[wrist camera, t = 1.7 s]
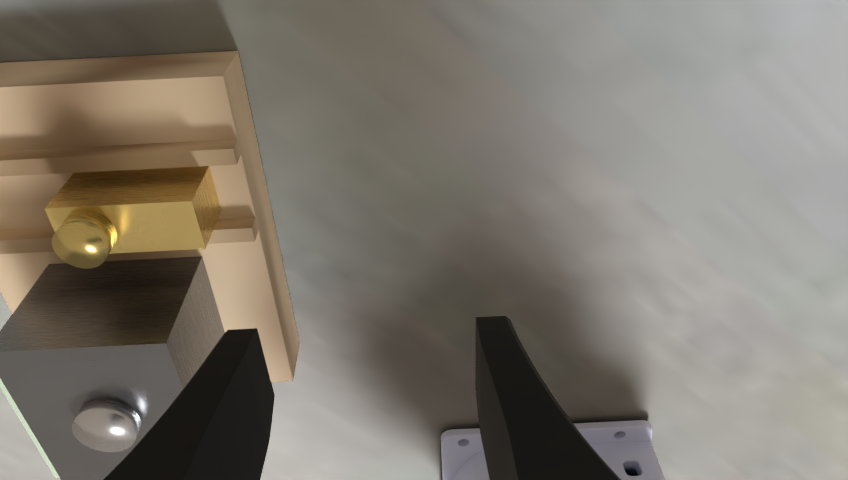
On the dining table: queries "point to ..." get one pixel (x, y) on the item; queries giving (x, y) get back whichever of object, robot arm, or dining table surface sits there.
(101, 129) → the wooden tray with rails
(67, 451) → the metal box with knob
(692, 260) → the dining table surface
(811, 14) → the dining table surface
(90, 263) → the bolt
